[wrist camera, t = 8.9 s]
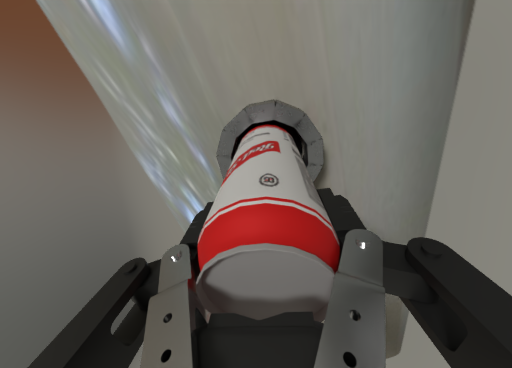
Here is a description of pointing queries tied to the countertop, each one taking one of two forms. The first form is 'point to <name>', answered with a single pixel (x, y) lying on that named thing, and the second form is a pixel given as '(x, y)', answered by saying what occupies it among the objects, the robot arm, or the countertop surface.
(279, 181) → the beer can
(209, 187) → the countertop surface
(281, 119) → the collar
